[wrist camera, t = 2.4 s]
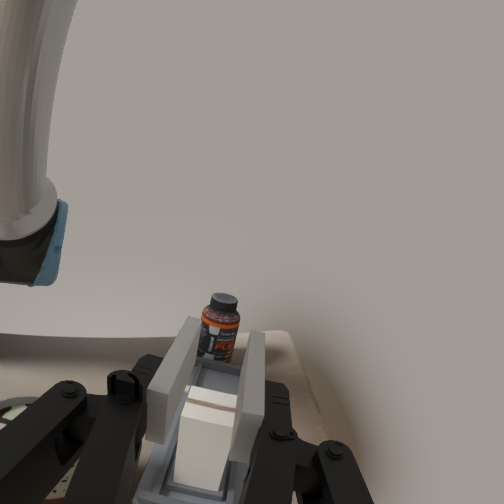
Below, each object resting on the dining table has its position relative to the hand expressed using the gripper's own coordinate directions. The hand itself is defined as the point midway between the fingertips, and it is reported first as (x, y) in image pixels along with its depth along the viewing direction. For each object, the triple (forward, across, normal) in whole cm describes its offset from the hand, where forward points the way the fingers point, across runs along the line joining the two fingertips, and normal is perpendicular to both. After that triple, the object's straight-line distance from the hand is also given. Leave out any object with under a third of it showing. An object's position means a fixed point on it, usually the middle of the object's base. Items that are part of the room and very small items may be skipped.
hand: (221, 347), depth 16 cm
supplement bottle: (+31, -2, -20) cm, 37 cm away
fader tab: (+5, 0, -18) cm, 18 cm away
